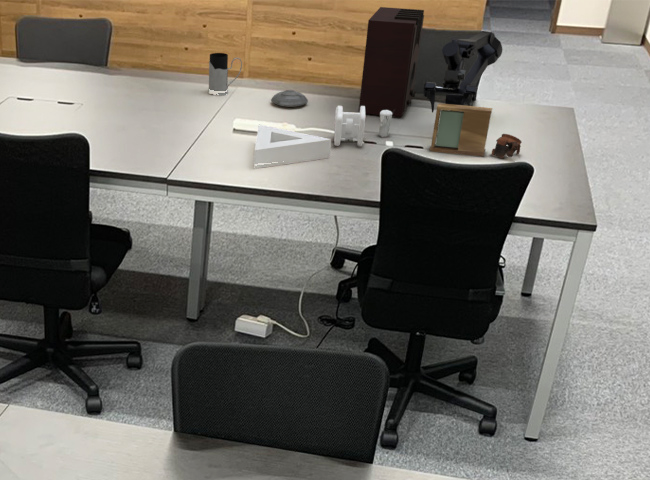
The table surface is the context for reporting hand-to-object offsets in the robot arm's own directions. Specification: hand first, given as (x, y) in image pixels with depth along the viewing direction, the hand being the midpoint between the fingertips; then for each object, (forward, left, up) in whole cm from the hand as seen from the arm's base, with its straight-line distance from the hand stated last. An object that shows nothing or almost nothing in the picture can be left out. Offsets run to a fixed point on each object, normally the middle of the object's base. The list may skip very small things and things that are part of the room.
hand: (445, 113), depth 350 cm
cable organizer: (+28, -20, -11) cm, 36 cm away
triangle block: (+57, -27, -11) cm, 64 cm away
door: (+3, +7, -9) cm, 11 cm away
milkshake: (+11, -18, -11) cm, 24 cm away
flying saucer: (+12, -71, -11) cm, 73 cm away
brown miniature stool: (-7, +24, -11) cm, 27 cm away
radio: (-17, -44, -11) cm, 48 cm away
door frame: (+3, +11, -10) cm, 15 cm away
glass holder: (+23, -100, -11) cm, 103 cm away
